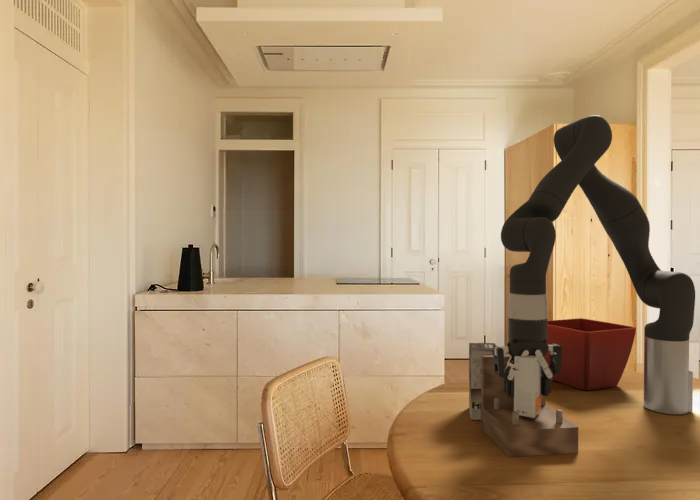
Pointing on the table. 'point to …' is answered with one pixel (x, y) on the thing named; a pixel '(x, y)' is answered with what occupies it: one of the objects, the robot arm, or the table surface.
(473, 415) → the coffee box
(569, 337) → the plant pot
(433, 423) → the table surface
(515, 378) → the skincare box
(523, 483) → the table surface
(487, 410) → the peg shelf stand
